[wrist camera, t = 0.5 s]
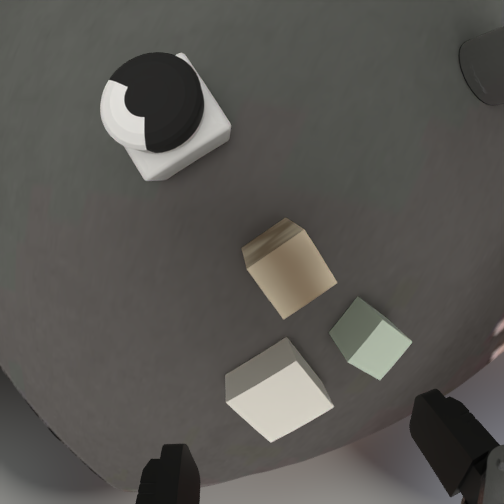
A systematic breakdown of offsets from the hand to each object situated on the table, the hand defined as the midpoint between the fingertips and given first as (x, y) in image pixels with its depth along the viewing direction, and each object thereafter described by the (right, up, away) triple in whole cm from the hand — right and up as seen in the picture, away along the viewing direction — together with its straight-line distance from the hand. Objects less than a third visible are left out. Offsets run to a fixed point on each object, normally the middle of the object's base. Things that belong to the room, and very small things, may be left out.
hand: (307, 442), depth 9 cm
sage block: (+10, -2, +24) cm, 26 cm away
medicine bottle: (-9, +18, +18) cm, 26 cm away
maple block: (+1, +6, +21) cm, 22 cm away
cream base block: (+1, -8, +24) cm, 26 cm away
